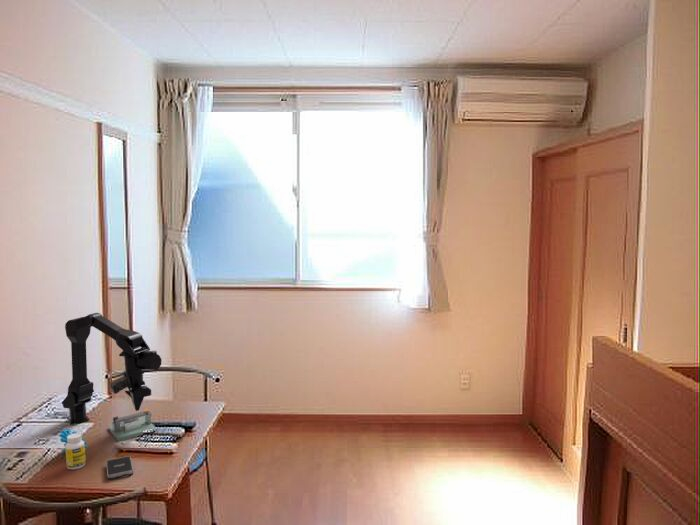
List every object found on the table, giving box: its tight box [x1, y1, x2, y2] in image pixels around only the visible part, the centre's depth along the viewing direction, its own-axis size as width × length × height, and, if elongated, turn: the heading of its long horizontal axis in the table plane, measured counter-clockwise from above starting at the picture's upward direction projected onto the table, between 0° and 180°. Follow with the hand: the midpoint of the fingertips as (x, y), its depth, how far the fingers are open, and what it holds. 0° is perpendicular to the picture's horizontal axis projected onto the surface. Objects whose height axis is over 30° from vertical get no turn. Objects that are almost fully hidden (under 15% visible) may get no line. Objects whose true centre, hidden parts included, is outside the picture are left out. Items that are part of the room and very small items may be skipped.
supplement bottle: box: [64, 432, 87, 470], centre depth 171 cm, size 5×5×10 cm
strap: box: [116, 408, 150, 422], centre depth 198 cm, size 11×2×2 cm, turn 126°
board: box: [108, 416, 157, 442], centre depth 198 cm, size 14×13×1 cm
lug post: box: [144, 411, 152, 424], centre depth 201 cm, size 4×1×6 cm, turn 36°
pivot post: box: [111, 416, 121, 432], centre depth 195 cm, size 4×2×6 cm, turn 36°
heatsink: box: [121, 417, 140, 431], centre depth 198 cm, size 6×5×3 cm
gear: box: [59, 428, 88, 454], centre depth 182 cm, size 11×6×10 cm
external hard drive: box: [106, 455, 134, 481], centre depth 167 cm, size 7×11×2 cm, turn 25°
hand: (137, 410), depth 199 cm, fingers closed
